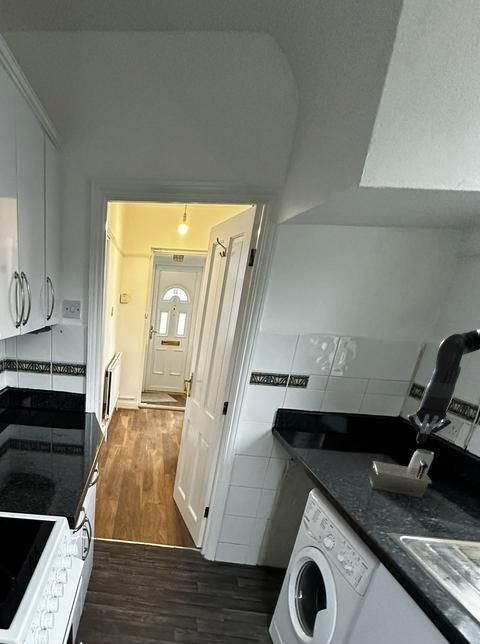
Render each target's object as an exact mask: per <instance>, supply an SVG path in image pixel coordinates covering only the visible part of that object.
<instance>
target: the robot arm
mask: <svg viewBox="0 0 480 644" xmlns="http://www.w3.org/2000/svg"><path fill="white" fill-rule="evenodd" d="M479 350H480V327H479V328H476V329H473V330H470V331H466V332H462V333H452V334H450V335H447V336H446V337H444V338H443V339H442V340H441V342H440V344H439V346H438V349H437V353H436V358H435V359H436V360H435V367H434V370H433V371H432V375H431V377H430V380H429V382H428V384H427V386H426V389H425V390H424V393H423V397H422V400H421V402H420V405H419V408H418V409H417V410H416V411H415V412H414V413H411V414H410V413H409V414H408V415H407V419H408V421H409V422H410V424H411V426H412V428H413V430H414V431H417V434H416V439H415V441H416V442H417V444H423V445H424V443H426V442H427V440H428V438H429V435H430V434H436V433H438V432H440V431H441V430H443V429H445V428H446V427H448V426H449V425H451V424H452V421H451V420H450V419H449V418H448V417H447V411H448V408H449V405H450V403H451V401H452V397H453V396H454V393H455V389H456V385H457V382H458V379H459V376H460V374H461V372H462V367H461V366H460V365H461V362H462V357H463V356H464V355H468V354H471V353H473V352H477V351H479ZM417 418H418V421H419V422H420V423H419V426H418V423H417V422H416V420H417ZM439 422H440V423H439ZM438 423H439V424H438ZM436 424H437V425H436Z"/></svg>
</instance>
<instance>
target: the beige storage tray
mask: <svg viewBox="0 0 480 644" xmlns="http://www.w3.org/2000/svg"><path fill="white" fill-rule="evenodd" d="M367 476H368V480H369V481H368V482H369V483H370V486H371V489H372V490H377V491H382V492H388V493H391V494H392V493H393V494H397V495H403V496H408V497H411V498H412V497H413V498H418V499H423V497H424V494H425V492H426V490H427V487H428V485H429V484H428V483H423V482H417V481H412V480H407V479H401V478H396V477H390V476H385V475H380V474H377V473H376V470H375V467H374V464H373V463H372V464H371V467H370V470H369V472H368V475H367Z"/></svg>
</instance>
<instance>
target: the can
mask: <svg viewBox="0 0 480 644" xmlns="http://www.w3.org/2000/svg"><path fill="white" fill-rule="evenodd" d="M434 454H435V453H434V452H433V451H431V450H427V449H424V448H423V449H422V448H417V449H416V451H414V453H413V455H412V457H411V459H410V462H409V464H408V466H407V467H411V468H417V469H419V467H420V464H419V462H420V461H421V460H424V461H425V462H426V464H427V465H428V468H426V469H425V470H424V471H425V473H426V474H427V475H428V472H429V469H430V467H431V466H432V465H431V464H432V462H433V460H434Z"/></svg>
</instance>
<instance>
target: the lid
mask: <svg viewBox="0 0 480 644" xmlns="http://www.w3.org/2000/svg"><path fill="white" fill-rule="evenodd" d="M372 464H374V467H375V470H376V473H377V474H380V475H385V476H390V477H396V478H401V479H407V480H412V481H417V482H423V483H428V485H432V483H433V481H432V480H431V478H430V477H429V475H428V473H427V474H426V473H425V471H424V470H425V469H426V468H428V465H427V464H426V462H425V461H424V460H421V461H420V462H419V464H420V467H419V469H417V468H411V467H408V466H404V465H399V464H394V463H387V462H382V461H377V460H373V461H372Z"/></svg>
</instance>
